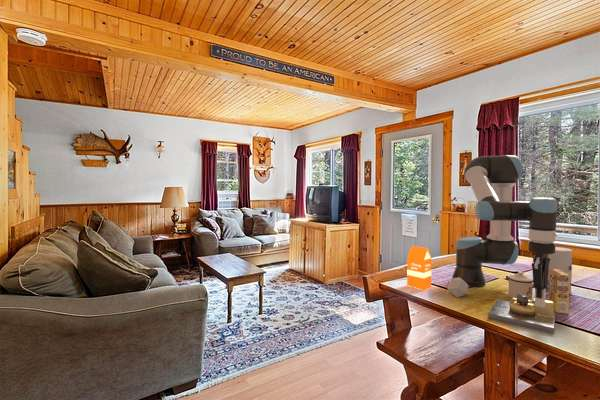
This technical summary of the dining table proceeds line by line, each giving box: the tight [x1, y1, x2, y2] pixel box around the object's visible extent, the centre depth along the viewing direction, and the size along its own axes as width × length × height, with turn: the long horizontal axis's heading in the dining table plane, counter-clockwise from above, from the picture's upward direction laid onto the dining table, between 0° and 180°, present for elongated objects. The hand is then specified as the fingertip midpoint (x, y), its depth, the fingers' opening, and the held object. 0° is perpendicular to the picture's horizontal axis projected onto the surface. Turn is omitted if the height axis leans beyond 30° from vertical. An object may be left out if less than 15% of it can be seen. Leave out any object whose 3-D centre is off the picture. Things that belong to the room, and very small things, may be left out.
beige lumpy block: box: [509, 298, 554, 317], centre depth 116 cm, size 13×8×5 cm, turn 62°
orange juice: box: [406, 245, 432, 291], centre depth 154 cm, size 8×9×20 cm
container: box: [544, 246, 573, 294], centre depth 146 cm, size 10×10×20 cm
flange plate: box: [487, 294, 557, 334], centre depth 117 cm, size 19×19×8 cm
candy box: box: [548, 269, 570, 315], centre depth 124 cm, size 9×4×15 cm, turn 159°
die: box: [447, 277, 470, 298], centre depth 141 cm, size 8×9×10 cm
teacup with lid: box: [507, 271, 534, 301], centre depth 138 cm, size 12×9×12 cm
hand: (539, 305), depth 111 cm, fingers closed
